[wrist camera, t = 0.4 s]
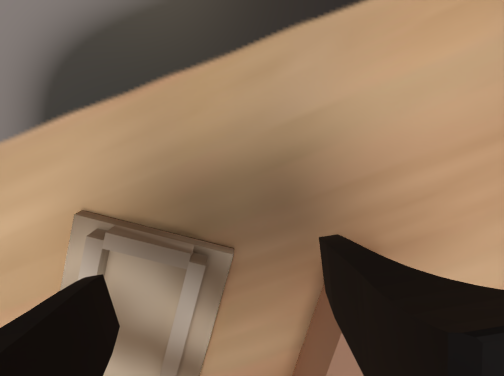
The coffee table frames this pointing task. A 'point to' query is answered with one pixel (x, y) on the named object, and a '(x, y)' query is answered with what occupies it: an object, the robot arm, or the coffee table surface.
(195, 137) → the coffee table surface
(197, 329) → the framed rectangular tray
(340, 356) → the clay strip
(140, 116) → the coffee table surface
